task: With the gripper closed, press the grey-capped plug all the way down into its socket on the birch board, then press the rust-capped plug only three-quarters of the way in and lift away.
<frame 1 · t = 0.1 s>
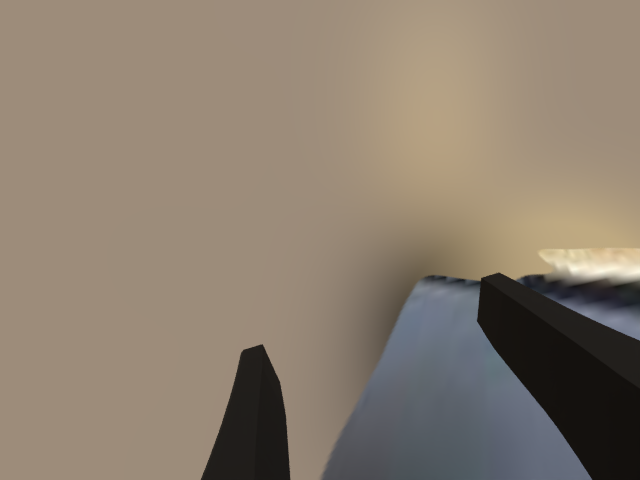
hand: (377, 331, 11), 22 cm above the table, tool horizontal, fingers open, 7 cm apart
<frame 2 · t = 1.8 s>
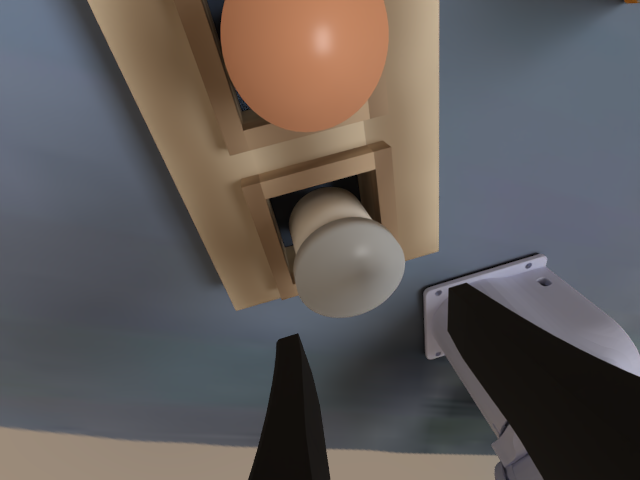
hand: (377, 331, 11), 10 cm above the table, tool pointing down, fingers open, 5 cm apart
rust plug: (296, 42, 11), point 5 cm above the table, slide at 0.0 cm
socket board: (300, 129, 17), on the table
grey plug: (337, 245, 15), point 5 cm above the table, slide at 0.0 cm
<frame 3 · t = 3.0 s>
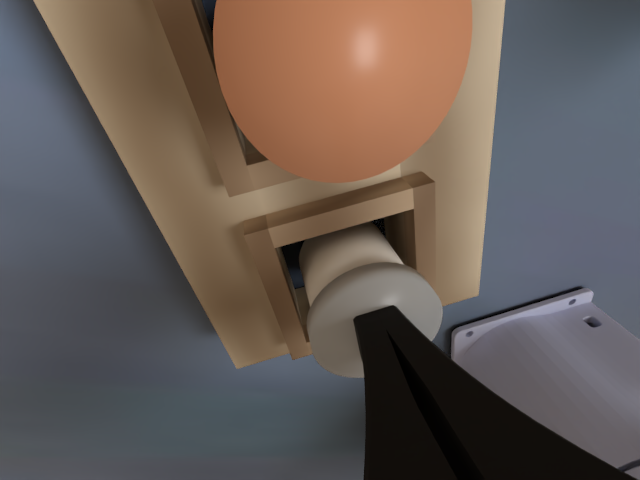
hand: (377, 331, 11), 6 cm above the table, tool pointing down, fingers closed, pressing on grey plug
rust plug: (322, 51, 8), point 5 cm above the table, slide at 0.0 cm
socket board: (316, 154, 14), on the table
grey plug: (358, 288, 13), point 4 cm above the table, slide at 0.9 cm, touching gripper
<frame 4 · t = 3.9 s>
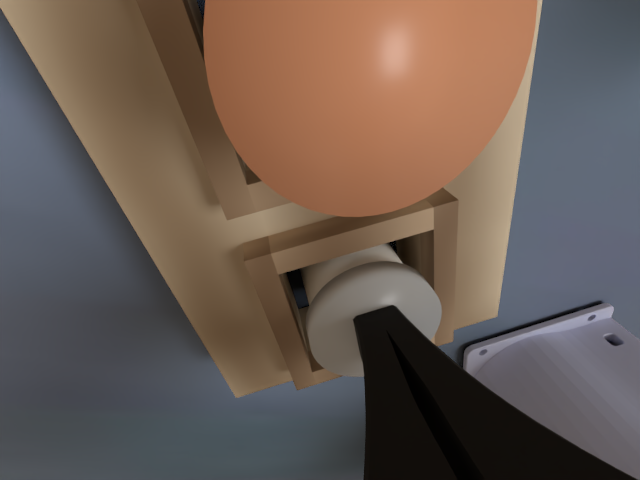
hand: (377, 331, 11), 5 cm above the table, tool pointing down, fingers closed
rust plug: (338, 55, 6), point 5 cm above the table, slide at 0.0 cm
socket board: (323, 166, 12), on the table
grey plug: (357, 287, 13), point 2 cm above the table, slide at 2.4 cm
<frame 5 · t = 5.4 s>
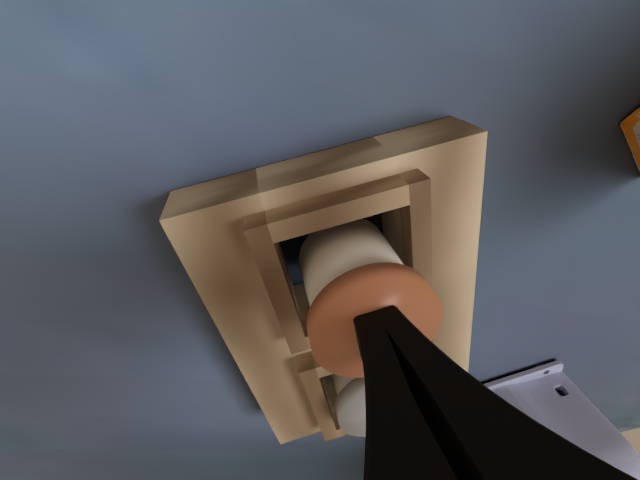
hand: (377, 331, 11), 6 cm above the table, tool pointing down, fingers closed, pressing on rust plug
rust plug: (357, 288, 13), point 4 cm above the table, slide at 0.6 cm, touching gripper
socket board: (344, 292, 18), on the table
grey plug: (367, 373, 19), point 2 cm above the table, slide at 2.4 cm
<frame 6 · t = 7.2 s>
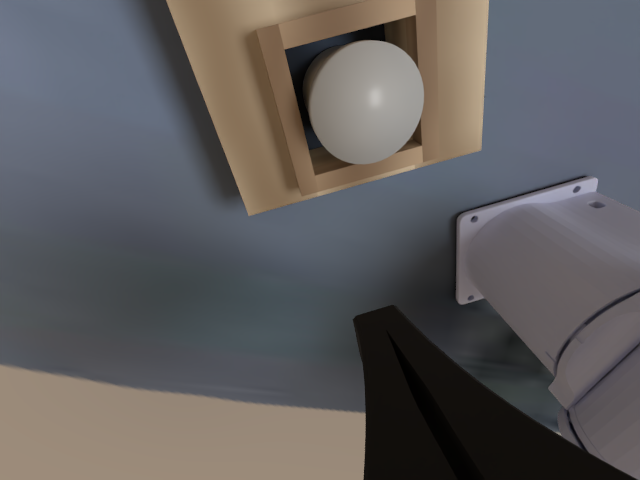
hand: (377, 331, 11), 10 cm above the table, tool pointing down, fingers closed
grey plug: (353, 98, 15), point 2 cm above the table, slide at 2.4 cm
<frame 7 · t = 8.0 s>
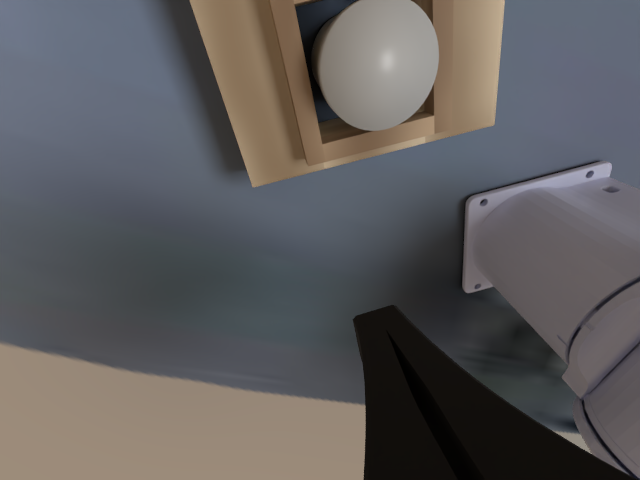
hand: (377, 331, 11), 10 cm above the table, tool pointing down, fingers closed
grey plug: (364, 63, 14), point 2 cm above the table, slide at 2.4 cm
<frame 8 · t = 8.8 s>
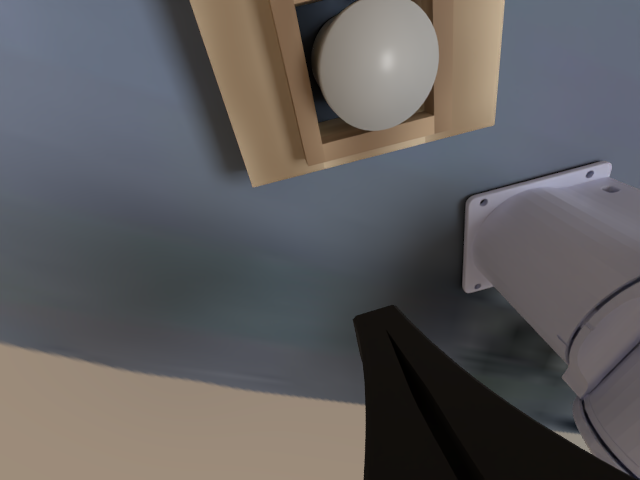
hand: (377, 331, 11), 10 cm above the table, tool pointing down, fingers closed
grey plug: (364, 63, 14), point 2 cm above the table, slide at 2.4 cm
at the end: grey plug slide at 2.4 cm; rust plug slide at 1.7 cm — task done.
